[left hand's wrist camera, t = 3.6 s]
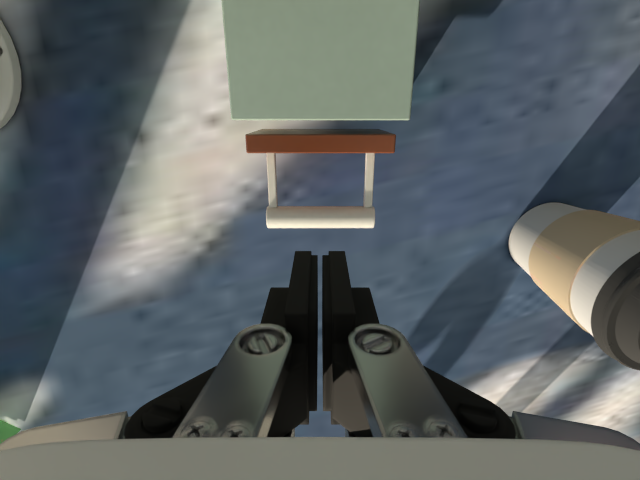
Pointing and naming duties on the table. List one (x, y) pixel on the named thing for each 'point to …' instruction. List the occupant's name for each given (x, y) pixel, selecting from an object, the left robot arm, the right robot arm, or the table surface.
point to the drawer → (320, 143)
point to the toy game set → (7, 431)
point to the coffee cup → (586, 271)
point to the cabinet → (320, 58)
